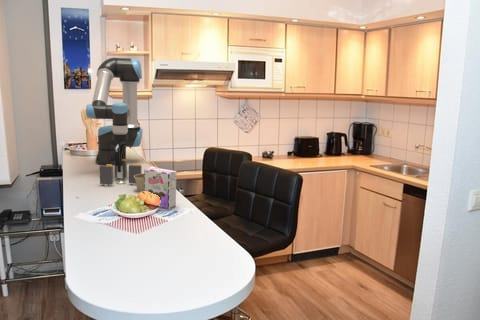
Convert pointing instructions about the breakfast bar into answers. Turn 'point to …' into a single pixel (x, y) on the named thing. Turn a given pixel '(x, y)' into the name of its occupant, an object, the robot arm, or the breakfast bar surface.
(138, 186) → the flower pot
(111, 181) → the dark grey upright block
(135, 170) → the grey thin slab
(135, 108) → the robot arm
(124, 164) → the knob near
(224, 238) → the breakfast bar surface
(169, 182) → the candy box
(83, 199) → the breakfast bar surface
